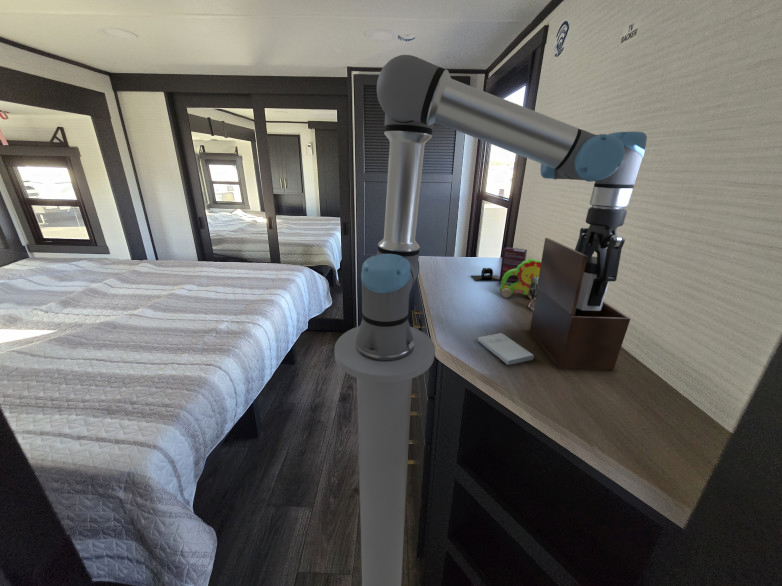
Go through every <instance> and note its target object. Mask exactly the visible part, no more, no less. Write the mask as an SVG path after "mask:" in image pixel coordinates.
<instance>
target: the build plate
mask: <svg viewBox="0 0 782 586" xmlns="http://www.w3.org/2000/svg"><path fill="white" fill-rule="evenodd" d="M470 277H471V278H472V280H474V281H475V282H499V279H500V276H498V275H497V274H495V275H494V270H493V268H491V267H482V269H481V272H480V275H470Z"/></svg>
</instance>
